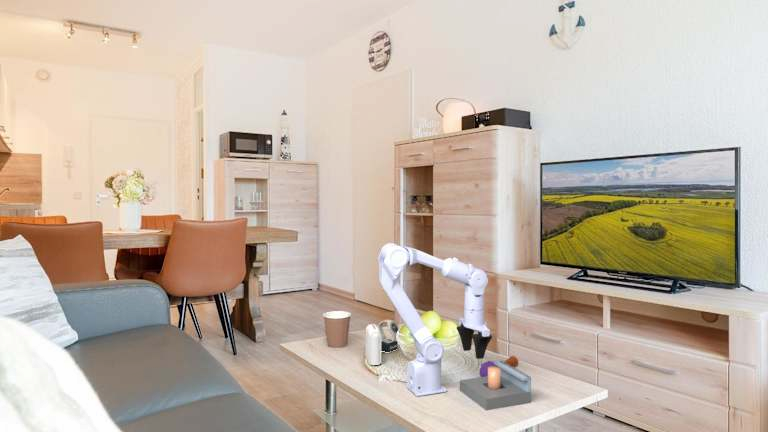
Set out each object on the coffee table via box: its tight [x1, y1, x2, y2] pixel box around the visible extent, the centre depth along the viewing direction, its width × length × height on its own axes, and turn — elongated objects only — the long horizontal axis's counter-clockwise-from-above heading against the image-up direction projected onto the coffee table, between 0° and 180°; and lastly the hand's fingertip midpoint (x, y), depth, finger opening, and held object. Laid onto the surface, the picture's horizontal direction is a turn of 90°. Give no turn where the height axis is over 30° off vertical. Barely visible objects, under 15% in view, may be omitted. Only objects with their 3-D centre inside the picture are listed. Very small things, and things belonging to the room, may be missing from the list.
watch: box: [377, 319, 400, 352], centre depth 181 cm, size 6×8×11 cm
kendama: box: [479, 355, 519, 377], centre depth 158 cm, size 6×6×20 cm
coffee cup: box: [322, 310, 352, 350], centre depth 185 cm, size 10×10×12 cm
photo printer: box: [364, 323, 382, 366], centre depth 169 cm, size 10×4×12 cm, turn 13°
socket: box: [459, 360, 532, 411], centre depth 140 cm, size 14×14×7 cm
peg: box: [488, 366, 501, 390], centre depth 140 cm, size 4×4×8 cm
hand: (473, 354), depth 148 cm, fingers open, 7 cm apart
